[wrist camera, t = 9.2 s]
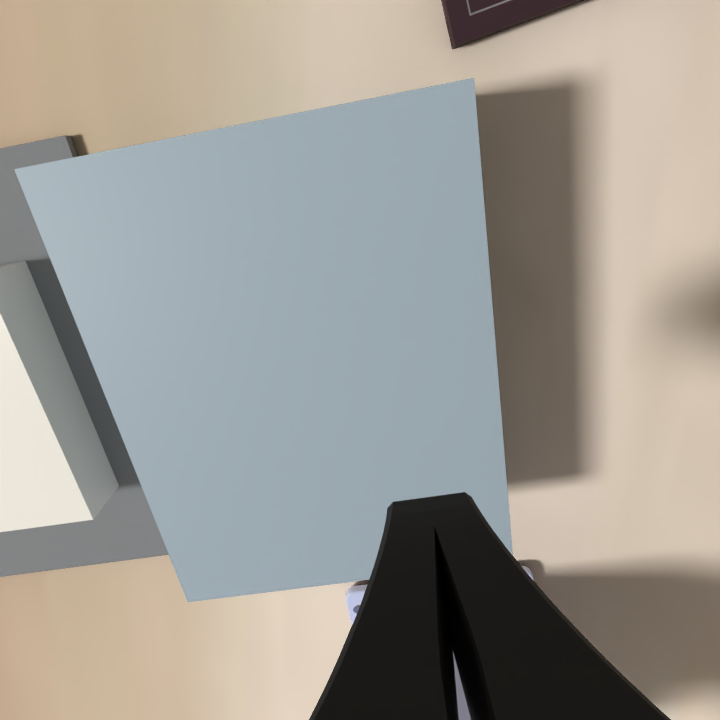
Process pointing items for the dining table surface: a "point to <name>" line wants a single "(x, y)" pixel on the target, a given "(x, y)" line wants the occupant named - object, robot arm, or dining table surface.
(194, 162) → the plate
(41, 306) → the tile
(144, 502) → the mat
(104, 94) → the dining table surface
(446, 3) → the chocolate bar
